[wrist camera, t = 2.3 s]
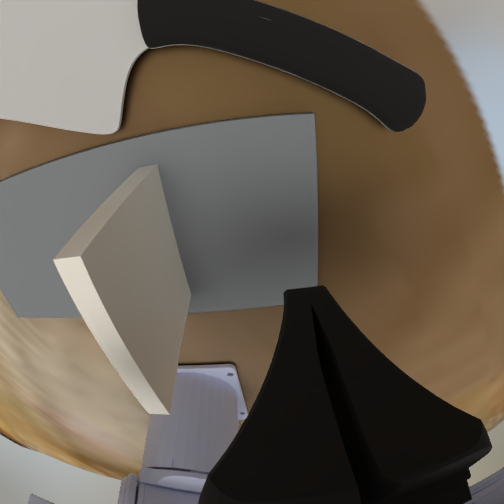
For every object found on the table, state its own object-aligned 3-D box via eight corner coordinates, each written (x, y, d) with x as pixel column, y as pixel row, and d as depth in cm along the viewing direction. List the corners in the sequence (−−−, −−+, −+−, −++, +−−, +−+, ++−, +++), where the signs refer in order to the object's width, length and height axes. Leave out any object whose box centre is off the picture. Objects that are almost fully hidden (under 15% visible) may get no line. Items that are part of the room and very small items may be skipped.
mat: (315, 294, 19) (317, 300, 18) (20, 312, 20) (17, 317, 19) (311, 112, 13) (314, 113, 12) (-35, 197, 14) (-40, 200, 13)
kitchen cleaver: (-80, 114, 8) (-59, -13, 3) (-65, 106, 10) (-43, -15, 4) (353, 237, 15) (449, 64, 9) (345, 219, 16) (430, 61, 10)
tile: (191, 294, 18) (170, 414, 11) (172, 296, 18) (144, 413, 11) (157, 164, 13) (80, 255, 7) (134, 168, 14) (48, 260, 7)
